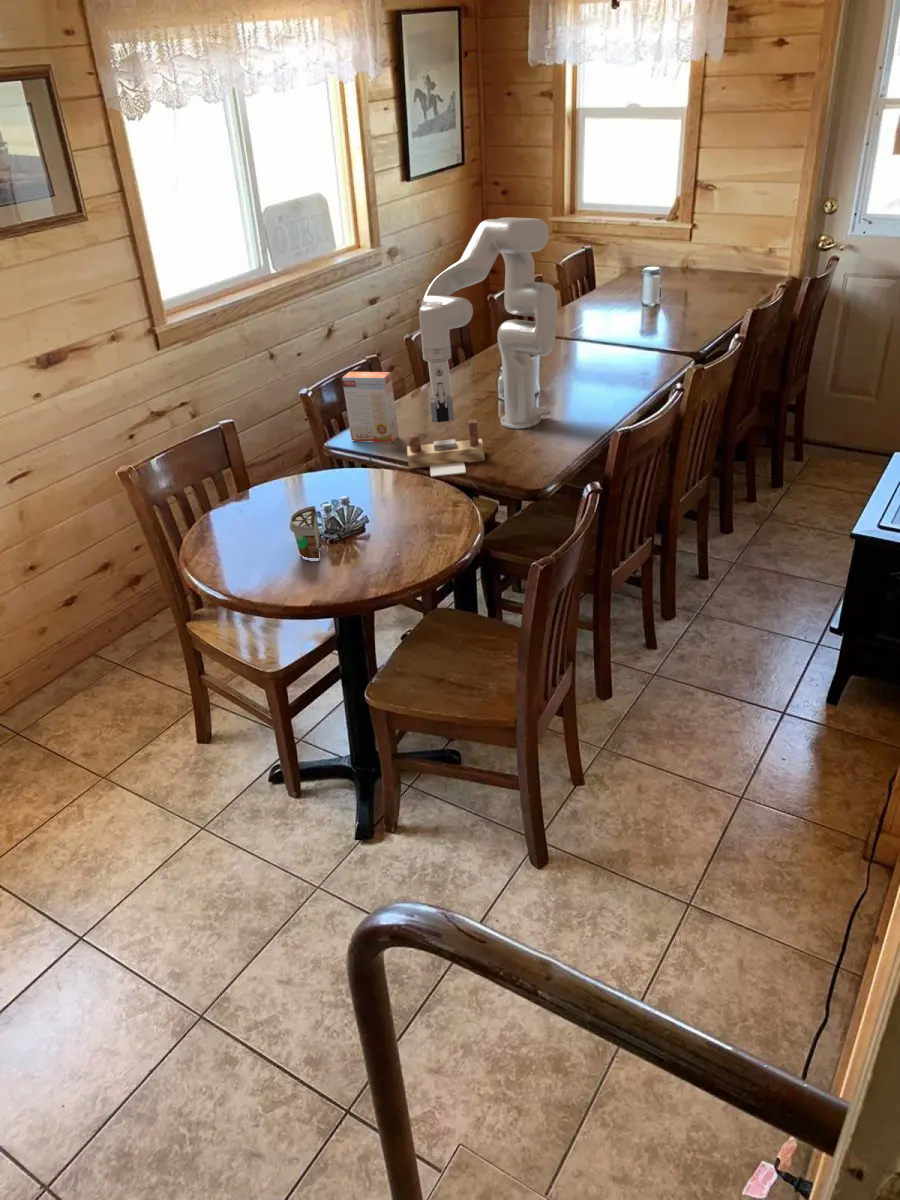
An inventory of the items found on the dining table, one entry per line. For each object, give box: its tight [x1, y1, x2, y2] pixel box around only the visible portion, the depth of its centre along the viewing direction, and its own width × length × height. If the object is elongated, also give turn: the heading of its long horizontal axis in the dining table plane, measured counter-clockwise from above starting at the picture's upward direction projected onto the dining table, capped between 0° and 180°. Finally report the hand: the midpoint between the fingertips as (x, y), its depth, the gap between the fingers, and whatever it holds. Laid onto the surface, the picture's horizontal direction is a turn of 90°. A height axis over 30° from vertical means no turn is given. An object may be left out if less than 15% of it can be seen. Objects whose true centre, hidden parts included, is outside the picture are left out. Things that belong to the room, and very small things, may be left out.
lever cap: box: [429, 395, 455, 423], centre depth 246 cm, size 6×4×6 cm
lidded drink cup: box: [289, 505, 321, 558], centre depth 218 cm, size 12×6×10 cm, turn 5°
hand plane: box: [406, 418, 486, 469], centre depth 259 cm, size 22×7×11 cm, turn 94°
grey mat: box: [429, 462, 467, 478], centre depth 256 cm, size 10×7×1 cm
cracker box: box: [341, 371, 399, 444], centre depth 275 cm, size 14×6×21 cm, turn 71°
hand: (442, 417), depth 247 cm, fingers closed on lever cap, 4 cm apart
